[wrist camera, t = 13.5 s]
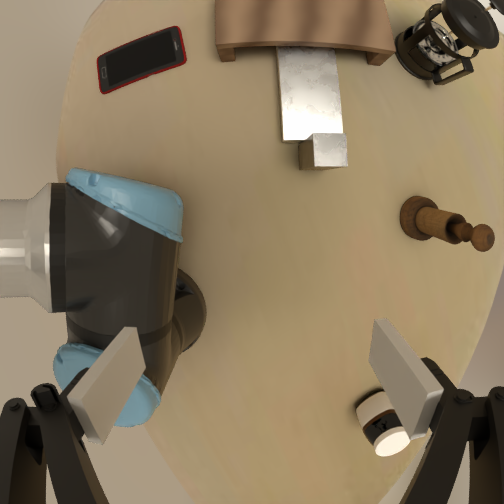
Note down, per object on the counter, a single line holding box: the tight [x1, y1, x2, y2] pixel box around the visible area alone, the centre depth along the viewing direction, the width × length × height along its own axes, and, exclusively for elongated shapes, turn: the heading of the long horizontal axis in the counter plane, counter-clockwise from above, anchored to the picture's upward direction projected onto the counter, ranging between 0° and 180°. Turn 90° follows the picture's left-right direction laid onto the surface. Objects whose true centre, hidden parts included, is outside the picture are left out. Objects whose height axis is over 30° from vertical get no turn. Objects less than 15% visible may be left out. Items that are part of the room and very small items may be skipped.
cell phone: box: [97, 26, 187, 94], centre depth 37 cm, size 8×15×1 cm, turn 103°
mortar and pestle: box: [400, 196, 495, 252], centre depth 33 cm, size 7×6×18 cm
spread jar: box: [356, 391, 410, 456], centre depth 45 cm, size 12×11×12 cm
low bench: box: [215, 0, 396, 66], centre depth 32 cm, size 24×12×6 cm, turn 93°
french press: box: [394, 0, 504, 85], centre depth 24 cm, size 12×9×23 cm
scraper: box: [276, 46, 348, 170], centre depth 33 cm, size 8×19×12 cm, turn 3°
